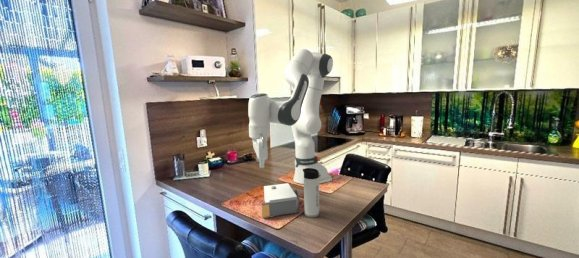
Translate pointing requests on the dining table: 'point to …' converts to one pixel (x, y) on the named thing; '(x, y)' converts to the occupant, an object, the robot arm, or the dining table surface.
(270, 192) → the white box with hole
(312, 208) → the travel mug
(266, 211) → the side door
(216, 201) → the dining table surface
